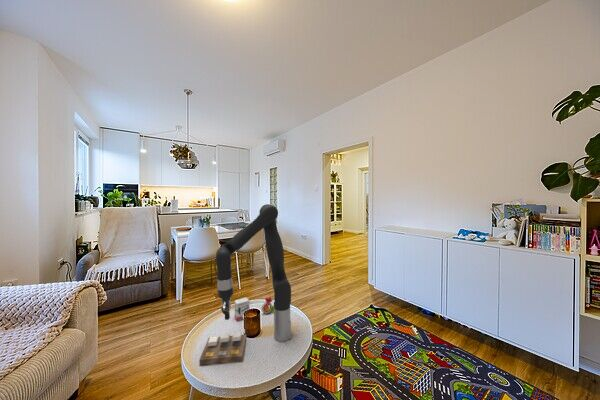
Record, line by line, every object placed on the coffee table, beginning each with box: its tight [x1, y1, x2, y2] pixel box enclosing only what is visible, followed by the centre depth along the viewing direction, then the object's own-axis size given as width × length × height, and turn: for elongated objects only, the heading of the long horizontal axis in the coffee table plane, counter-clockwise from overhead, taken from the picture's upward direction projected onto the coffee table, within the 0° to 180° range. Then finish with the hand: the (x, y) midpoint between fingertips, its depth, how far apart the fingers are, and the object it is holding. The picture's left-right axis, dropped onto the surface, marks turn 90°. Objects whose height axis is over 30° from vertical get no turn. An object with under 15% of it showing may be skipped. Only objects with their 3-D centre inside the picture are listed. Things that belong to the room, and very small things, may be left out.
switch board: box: [198, 334, 247, 367], centre depth 116 cm, size 20×16×3 cm
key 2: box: [232, 331, 242, 341], centre depth 119 cm, size 4×4×2 cm
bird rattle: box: [261, 296, 274, 315], centre depth 151 cm, size 6×11×9 cm
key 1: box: [208, 336, 219, 346], centre depth 117 cm, size 4×4×2 cm
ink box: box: [234, 297, 250, 322], centre depth 146 cm, size 8×5×12 cm, turn 123°
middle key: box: [220, 332, 231, 342], centre depth 118 cm, size 4×4×2 cm
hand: (227, 318), depth 118 cm, fingers closed
